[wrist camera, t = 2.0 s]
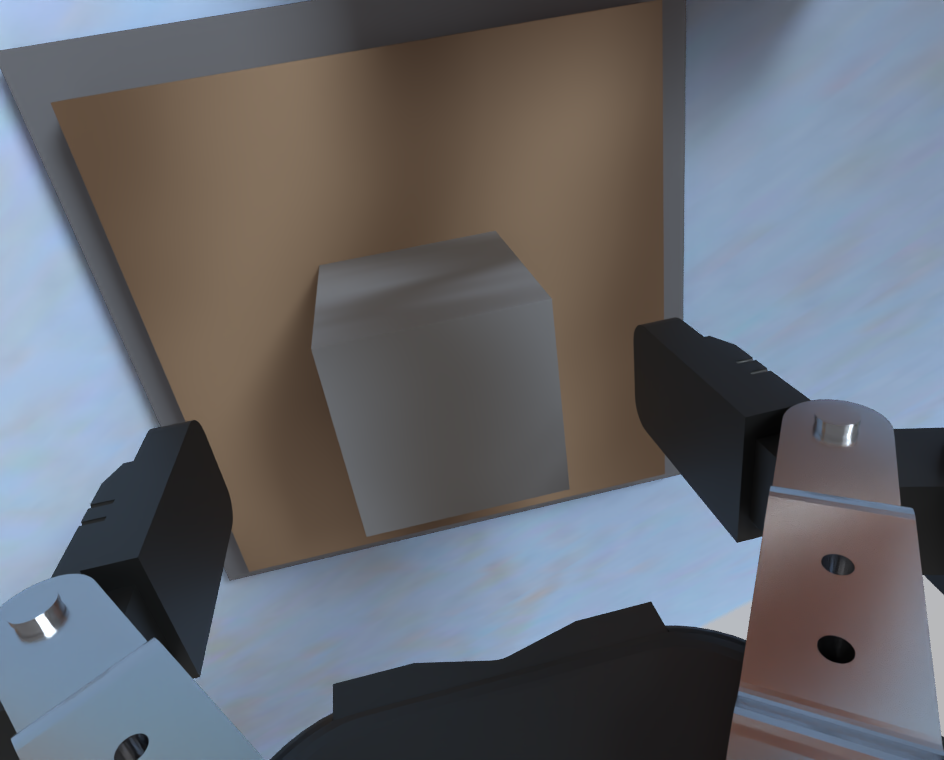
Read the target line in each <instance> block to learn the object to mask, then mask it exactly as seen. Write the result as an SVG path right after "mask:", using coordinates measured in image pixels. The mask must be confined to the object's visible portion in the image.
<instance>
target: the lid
mask: <svg viewBox="0 0 944 760" xmlns="http://www.w3.org/2000/svg"><path fill="white" fill-rule="evenodd" d="M51 106H52V108H53V110H54V113H55V115H56V117H57V120H58V122H59V124H60V127H61V129H62V132H63V134H64V136H65V139H66V141H67V143H68V146H69V148H70V150H71V153H72V155H73V157H74V160H75V162H76V165H77V167H78V169H79V172H80V174H81V176H82V179H83V181H84V183H85V186H86V188H87V190H88V193H89V195H90V198H91V200H92V202H93V205H94V207H95V209H96V212H97V214H98V216H99V219H100V221H101V223H102V226H103V228H104V231H105V233H106V235H107V238H108V240H109V242H110V245H111V247H112V249H113V252H114V254H115V256H116V259H117V261H118V264H119V266H120V268H121V271H122V273H123V275H124V278H125V280H126V282H127V285H128V287H129V289H130V292H131V294H132V297H133V299H134V301H135V304H136V306H137V308H138V311H139V313H140V315H141V318H142V320H143V323H144V325H145V327H146V330H147V332H148V334H149V337H150V339H151V341H152V344H153V346H154V348H155V351H156V353H157V356H158V358H159V360H160V363H161V365H162V367H163V370H164V372H165V374H166V377H167V379H168V381H169V384H170V386H171V389H172V391H173V393H174V396H175V398H176V400H177V403H178V405H179V407H180V410H181V412H182V414H183V417H184V419H185V422H186V421H191V420H196V421H198V422H199V423H200V425H201V426H202V428H203V430H204V432H205V434H206V437H207V439H208V441H209V444H210V446H211V449H212V451H213V454H214V456H215V459H216V461H217V464H218V466H219V469H220V471H221V474H222V476H223V479H224V481H225V484H226V486H227V489H228V491H229V495H230V498H231V503H232V510H233V525H232V532H233V535H234V537H235V539H236V542H237V544H238V547H239V549H240V551H241V554H242V556H243V558H244V561H245V563H246V565H247V568H248V570H249V572H251V571H255V570H260V569H264V568H268V567H272V566H277V565H281V564H285V563H289V562H294V561H298V560H302V559H306V558H311V557H315V556H319V555H323V554H328V553H332V552H336V551H340V550H345V549H349V548H353V547H357V546H362V545H366V544H370V543H374V542H379V541H383V540H387V539H391V538H396V537H400V536H404V535H408V534H413V533H417V532H421V531H425V530H429V529H434V528H438V527H442V526H446V525H451V524H455V523H459V522H463V521H468V520H472V519H476V518H480V517H485V516H489V515H493V514H497V513H502V512H506V511H510V510H514V509H519V508H523V507H527V506H531V505H536V504H540V503H544V502H548V501H553V500H557V499H561V498H565V497H570V496H574V495H578V494H582V493H587V492H591V491H595V490H599V489H604V488H608V487H612V486H616V485H621V484H625V483H629V482H633V481H638V480H642V479H646V478H650V477H654V476H659V475H663V474H665V454H664V453H663V452H662V450H661V449H660V448H659V447H658V445H657V444H656V443H655V442H654V441H653V439H652V438H651V437H650V436H649V434H648V433H647V432H646V431H645V429H644V428H643V426H642V424H641V422H640V419H639V416H638V413H637V409H636V403H635V381H634V346H633V337H634V331H635V328H636V327H637V326H638V325H642V324H646V323H651V322H656V321H660V320H664V217H663V27H662V0H655V1H648V2H641V3H635V4H629V5H624V6H618V7H612V8H606V9H600V10H594V11H588V12H582V13H576V14H570V15H564V16H558V17H552V18H546V19H541V20H535V21H529V22H523V23H517V24H511V25H505V26H499V27H493V28H487V29H481V30H475V31H469V32H463V33H457V34H452V35H446V36H440V37H434V38H428V39H422V40H416V41H410V42H404V43H398V44H392V45H386V46H380V47H374V48H369V49H363V50H357V51H351V52H345V53H339V54H333V55H327V56H321V57H315V58H309V59H303V60H297V61H291V62H285V63H280V64H274V65H268V66H262V67H256V68H250V69H244V70H238V71H232V72H226V73H220V74H214V75H208V76H202V77H197V78H191V79H185V80H179V81H173V82H167V83H161V84H155V85H149V86H143V87H137V88H131V89H125V90H119V91H113V92H108V93H102V94H96V95H90V96H84V97H78V98H72V99H67V100H62V101H56V102H51Z"/></svg>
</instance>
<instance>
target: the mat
mask: <svg viewBox="0 0 944 760" xmlns="http://www.w3.org/2000/svg"><path fill="white" fill-rule="evenodd" d="M648 1H655V0H311V1H305V2H299V3H292V4H286V5H280V6H274V7H267V8H261V9H255V10H249V11H243V12H236V13H230V14H224V15H218V16H212V17H205V18H199V19H193V20H187V21H180V22H174V23H168V24H162V25H156V26H149V27H143V28H137V29H131V30H125V31H118V32H112V33H106V34H100V35H93V36H87V37H81V38H75V39H69V40H62V41H56V42H50V43H44V44H37V45H31V46H25V47H19V48H13V49H6V50H0V68H1V71H2V73H3V75H4V77H5V79H6V82H7V84H8V86H9V88H10V91H11V93H12V95H13V97H14V100H15V102H16V104H17V106H18V109H19V111H20V113H21V115H22V117H23V120H24V122H25V124H26V126H27V129H28V131H29V133H30V135H31V138H32V140H33V142H34V144H35V147H36V149H37V151H38V153H39V155H40V158H41V160H42V162H43V164H44V167H45V169H46V171H47V173H48V176H49V178H50V180H51V182H52V184H53V187H54V189H55V191H56V193H57V196H58V198H59V200H60V202H61V205H62V207H63V209H64V211H65V214H66V216H67V218H68V220H69V222H70V225H71V227H72V229H73V231H74V234H75V236H76V238H77V240H78V243H79V245H80V247H81V249H82V252H83V254H84V256H85V258H86V260H87V263H88V265H89V267H90V269H91V272H92V274H93V276H94V278H95V281H96V283H97V285H98V287H99V289H100V292H101V294H102V296H103V298H104V301H105V303H106V305H107V307H108V310H109V312H110V314H111V316H112V319H113V321H114V323H115V325H116V327H117V330H118V332H119V334H120V336H121V339H122V341H123V343H124V345H125V348H126V350H127V352H128V354H129V357H130V359H131V361H132V363H133V365H134V368H135V370H136V372H137V374H138V377H139V379H140V381H141V383H142V386H143V388H144V390H145V392H146V394H147V397H148V399H149V401H150V403H151V406H152V408H153V410H154V412H155V415H156V417H157V419H158V421H159V424H160V426H161V427H163V426H167V425H172V424H177V423H181V422H185V419H184V417H183V414H182V412H181V410H180V407H179V405H178V403H177V400H176V398H175V396H174V393H173V391H172V389H171V386H170V384H169V381H168V379H167V377H166V374H165V372H164V370H163V367H162V365H161V363H160V360H159V358H158V356H157V353H156V351H155V348H154V346H153V344H152V341H151V339H150V337H149V334H148V332H147V330H146V327H145V325H144V323H143V320H142V318H141V315H140V313H139V311H138V308H137V306H136V304H135V301H134V299H133V297H132V294H131V292H130V289H129V287H128V285H127V282H126V280H125V278H124V275H123V273H122V271H121V268H120V266H119V264H118V261H117V259H116V256H115V254H114V252H113V249H112V247H111V245H110V242H109V240H108V238H107V235H106V233H105V231H104V228H103V226H102V223H101V221H100V219H99V216H98V214H97V212H96V209H95V207H94V205H93V202H92V200H91V198H90V195H89V193H88V190H87V188H86V186H85V183H84V181H83V179H82V176H81V174H80V172H79V169H78V167H77V165H76V162H75V160H74V157H73V155H72V153H71V150H70V148H69V146H68V143H67V141H66V139H65V136H64V134H63V132H62V129H61V127H60V124H59V122H58V120H57V117H56V115H55V113H54V110H53V108H52V106H51V102H56V101H62V100H67V99H72V98H78V97H84V96H90V95H96V94H102V93H108V92H113V91H119V90H125V89H131V88H137V87H143V86H149V85H155V84H161V83H167V82H173V81H179V80H185V79H191V78H197V77H202V76H208V75H214V74H220V73H226V72H232V71H238V70H244V69H250V68H256V67H262V66H268V65H274V64H280V63H285V62H291V61H297V60H303V59H309V58H315V57H321V56H327V55H333V54H339V53H345V52H351V51H357V50H363V49H369V48H374V47H380V46H386V45H392V44H398V43H404V42H410V41H416V40H422V39H428V38H434V37H440V36H446V35H452V34H457V33H463V32H469V31H475V30H481V29H487V28H493V27H499V26H505V25H511V24H517V23H523V22H529V21H535V20H541V19H546V18H552V17H558V16H564V15H570V14H576V13H582V12H588V11H594V10H600V9H606V8H612V7H618V6H624V5H629V4H635V3H641V2H648ZM662 27H663V217H664V320H665V319H670V318H674V317H677V318H680V319H681V320H682V321H683V266H684V165H685V65H686V0H662ZM679 474H680V472H679V471H678V470H677V469H676V467H675V466H674V465H673V464H672V463H671V461H670V460H669V459H668V458H667V456H666V455H665V474H663V475H659V476H654V477H650V478H646V479H642V480H638V481H633V482H629V483H625V484H621V485H616V486H612V487H608V488H604V489H599V490H595V491H591V492H587V493H582V494H578V495H574V496H570V497H565V498H561V499H557V500H553V501H548V502H544V503H540V504H536V505H531V506H527V507H523V508H519V509H514V510H510V511H506V512H502V513H497V514H493V515H489V516H485V517H480V518H476V519H472V520H468V521H463V522H459V523H455V524H451V525H446V526H442V527H438V528H434V529H429V530H425V531H421V532H417V533H413V534H408V535H404V536H400V537H396V538H391V539H387V540H383V541H379V542H374V543H370V544H366V545H362V546H357V547H353V548H349V549H345V550H340V551H336V552H332V553H328V554H323V555H319V556H315V557H311V558H306V559H302V560H298V561H294V562H289V563H285V564H281V565H277V566H272V567H268V568H264V569H260V570H255V571H251V572H249V570H248V568H247V565H246V563H245V561H244V558H243V556H242V554H241V551H240V549H239V547H238V544H237V542H236V539H235V537H234V535H233V532H232V530H231V534H230V539H229V544H228V548H227V553H226V558H225V562H224V569H225V571H226V573H227V575H228V578H229V580H235V579H239V578H243V577H247V576H252V575H256V574H260V573H264V572H268V571H273V570H277V569H281V568H285V567H290V566H294V565H298V564H302V563H307V562H311V561H315V560H319V559H324V558H328V557H332V556H336V555H340V554H345V553H349V552H353V551H357V550H362V549H366V548H370V547H374V546H379V545H383V544H387V543H391V542H396V541H400V540H404V539H408V538H412V537H417V536H421V535H425V534H429V533H434V532H438V531H442V530H446V529H451V528H455V527H459V526H463V525H468V524H472V523H476V522H480V521H484V520H489V519H493V518H497V517H501V516H506V515H510V514H514V513H518V512H523V511H527V510H531V509H535V508H540V507H544V506H548V505H552V504H556V503H561V502H565V501H569V500H573V499H578V498H582V497H586V496H590V495H595V494H599V493H603V492H607V491H612V490H616V489H620V488H624V487H628V486H633V485H637V484H641V483H645V482H650V481H654V480H658V479H662V478H667V477H671V476H675V475H679Z"/></svg>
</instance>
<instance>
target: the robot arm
mask: <svg viewBox="0 0 944 760" xmlns="http://www.w3.org/2000/svg"><path fill="white" fill-rule="evenodd" d="M633 346H634V381H635V403H636V409H637V413H638V416H639V419H640V422H641V424H642V426H643V428H644V429H645V431H646V432H647V433H648V434H649V436H650V437H651V438H652V439H653V441H654V442H655V443H656V444H657V445H658V447H659V448H660V449H661V450H662V452H663V453H664V454H665V455H666V456H667V458H668V459H669V460H670V461H671V463H672V464H673V465H674V466H675V467H676V469H677V470H678V471H679V472H680V474H681V475H682V476H683V477H684V478H685V480H686V481H687V482H688V483H689V485H690V486H691V487H692V488H693V489H694V491H695V492H696V493H697V494H698V496H699V497H700V498H701V499H702V500H703V502H704V503H705V504H706V505H707V507H708V508H709V509H710V510H711V511H712V513H713V514H714V515H715V516H716V518H717V519H718V520H719V521H720V522H721V524H722V525H723V526H724V527H725V529H726V530H727V531H728V532H729V533H730V535H731V536H732V537H733V538H734V539H735V541H736V542H737V543H738V542H742V541H746V540H750V539H754V538H758V537H761V536H762V543H761V549H760V556H759V562H758V569H757V575H756V582H755V588H754V594H753V601H752V607H751V614H750V621H749V627H748V634H747V640H744V639H741V638H739V637H736V636H733V635H729V634H725V633H722V632H718V631H714V630H709V629H703V628H698V627H688V626H665V625H664V623H663V622H662V620H661V618H660V616H659V615H658V613H657V611H656V609H655V608H654V606H653V604H652V602H648V603H644V604H640V605H636V606H633V607H629V608H625V609H621V610H617V611H613V612H609V613H606V614H602V615H598V616H594V617H590V618H586V619H582V620H579V621H575V622H573V623H571V624H570V625H568V626H566V627H564V628H562V629H560V630H558V631H556V632H554V633H552V634H550V635H549V636H547V637H545V638H543V639H541V640H539V641H537V642H535V643H533V644H531V645H529V646H527V647H526V648H524V649H522V650H520V651H518V652H516V653H514V654H512V655H510V656H508V657H506V658H503V659H500V660H493V661H465V662H435V663H413V664H409V665H405V666H401V667H398V668H394V669H390V670H386V671H382V672H378V673H375V674H371V675H367V676H363V677H359V678H355V679H351V680H348V681H344V682H340V683H336V684H333V713H332V714H330V715H328V716H326V717H324V718H323V719H321V720H319V721H318V722H316V723H315V724H313V725H312V726H310V727H308V728H307V729H305V730H304V731H302V732H301V733H300V734H299V735H297V736H296V737H295V738H294V739H292V740H291V741H290V742H289V743H287V744H286V745H285V746H284V747H283V748H282V749H281V750H280V751H278V752H277V753H276V754H275V755H274V756H273V757H272V758H271V759H270V760H944V737H943V736H941V730H940V721H939V713H938V704H937V696H936V687H935V679H934V671H933V662H932V654H931V645H930V637H929V628H928V620H927V612H926V604H925V594H924V586H923V577H922V575H925V576H926V578H927V579H928V580H929V581H931V583H932V584H934V586H935V587H937V589H939V590H940V591H941V592H942V593H943V594H944V428H916V429H893V426H892V425H891V423H890V422H889V421H888V420H887V419H886V418H885V417H884V416H883V415H881V414H880V413H878V412H876V411H875V410H873V409H870V408H868V407H866V406H863V405H859V404H856V403H852V402H847V401H841V400H829V399H825V400H810V399H808V398H807V397H806V396H804V395H803V394H802V393H800V392H799V391H797V390H796V389H795V388H793V387H792V386H791V385H789V384H788V383H787V382H785V381H784V380H782V379H781V378H780V377H778V376H777V375H776V374H774V373H773V372H772V371H767V368H766V367H765V366H763V365H762V364H761V363H759V362H758V361H757V360H754V361H753V359H752V357H751V356H750V355H748V354H747V353H746V352H744V351H743V350H742V349H740V348H739V347H737V346H736V345H734V344H731V343H729V342H726V341H723V340H720V339H717V338H714V337H711V336H707V337H703V336H702V335H701V334H699V333H698V332H697V331H695V330H694V329H693V328H692V327H690V326H689V325H688V324H686V323H685V322H684V321H682V320H681V319H680V318H677V317H674V318H670V319H665V320H660V321H656V322H651V323H646V324H642V325H638V326H637V327H636V328H635V331H634V337H633ZM81 523H82V526H79V527H78V529H77V531H76V532H75V534H74V536H73V538H72V540H71V542H70V544H69V545H68V547H67V549H66V551H65V553H64V555H63V557H62V558H61V560H60V562H59V564H58V566H57V568H56V570H55V571H54V573H53V575H52V577H51V578H50V579H47V580H44V581H42V582H39V583H37V584H35V585H33V586H31V587H29V588H27V589H25V590H23V591H22V592H20V593H18V594H17V595H15V596H14V597H12V598H11V599H10V600H8V601H7V602H6V603H4V604H3V605H2V606H1V607H0V760H265V759H264V758H263V757H262V756H261V755H260V754H259V753H258V752H257V750H256V749H255V748H254V747H253V746H252V745H251V744H250V743H249V741H248V740H247V739H246V738H245V737H244V736H243V735H242V734H241V732H240V731H239V730H238V729H237V728H236V727H235V726H234V725H233V723H232V722H231V721H230V720H229V719H228V718H227V717H226V716H225V714H224V713H223V712H222V711H221V710H220V709H219V708H218V707H217V705H216V704H215V703H214V702H213V701H212V700H211V699H210V698H209V697H208V695H207V694H206V693H205V692H204V691H203V690H202V689H201V688H200V686H199V685H198V684H197V683H196V682H195V681H194V680H193V679H194V678H198V677H200V674H201V669H202V664H203V660H204V655H205V651H206V646H207V641H208V637H209V632H210V627H211V623H212V618H213V613H214V609H215V604H216V599H217V595H218V590H219V586H220V581H221V576H222V572H223V567H224V562H225V558H226V553H227V548H228V544H229V539H230V534H231V530H232V525H233V510H232V503H231V498H230V495H229V491H228V489H227V486H226V484H225V481H224V479H223V476H222V474H221V471H220V469H219V466H218V464H217V461H216V459H215V456H214V454H213V451H212V449H211V446H210V444H209V441H208V439H207V437H206V434H205V432H204V430H203V428H202V426H201V425H200V423H199V422H198V421H196V420H191V421H186V422H181V423H177V424H172V425H167V426H163V427H158V428H153V429H150V430H149V431H148V433H147V435H146V437H145V439H144V441H143V443H142V445H141V447H140V449H139V451H138V453H137V455H136V457H135V459H134V461H132V462H127V463H124V464H122V465H121V466H120V467H119V468H118V469H117V470H116V471H115V472H114V473H113V474H112V475H111V476H110V477H109V478H107V479H106V480H105V481H104V482H103V483H102V484H101V486H100V488H99V490H98V492H97V493H96V495H95V497H94V499H93V501H92V503H91V508H90V509H88V510H87V512H86V514H85V516H84V518H83V519H82V521H81Z"/></svg>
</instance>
